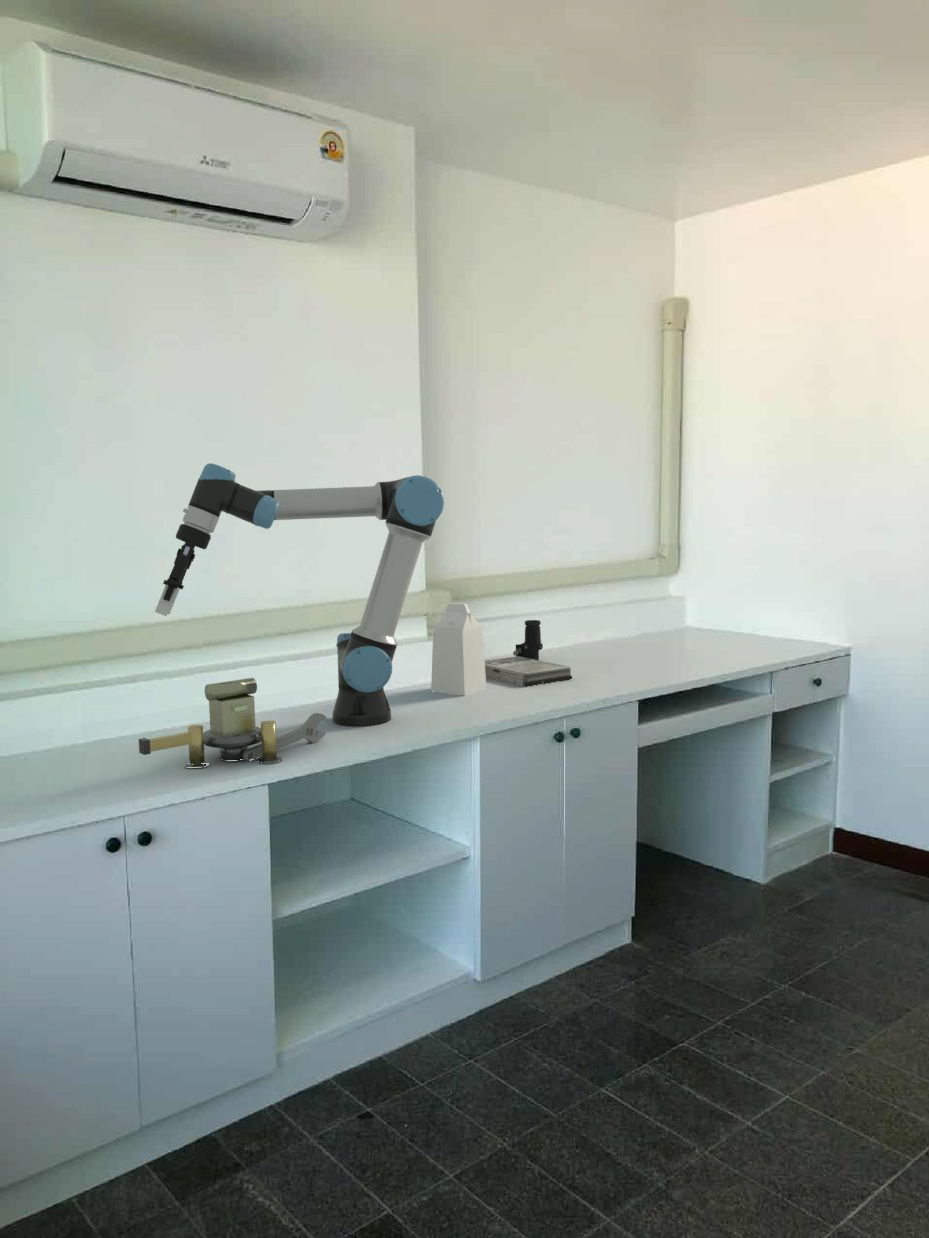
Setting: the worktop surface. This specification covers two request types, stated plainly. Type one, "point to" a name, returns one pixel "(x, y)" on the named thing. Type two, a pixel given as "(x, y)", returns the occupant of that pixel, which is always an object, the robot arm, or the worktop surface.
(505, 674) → the hard drive
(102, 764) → the worktop surface
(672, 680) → the worktop surface
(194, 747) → the lever
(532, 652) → the scope
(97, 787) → the worktop surface
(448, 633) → the milk
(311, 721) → the adjustable wrench
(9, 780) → the worktop surface
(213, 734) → the surveying level
